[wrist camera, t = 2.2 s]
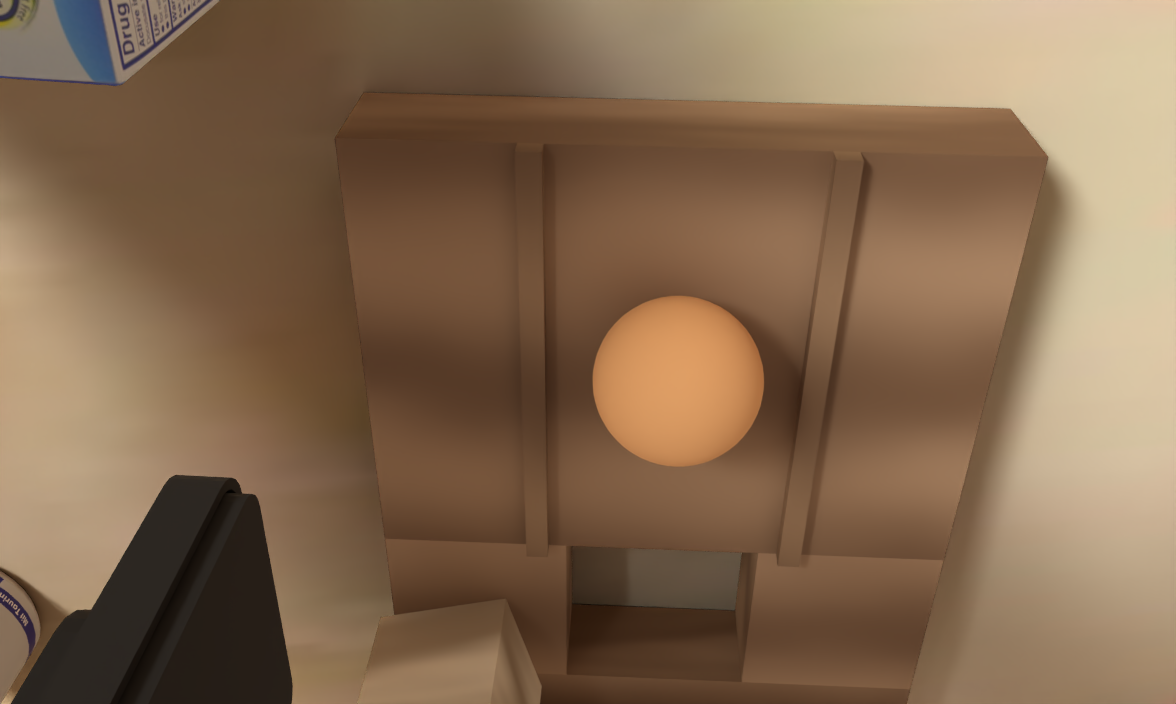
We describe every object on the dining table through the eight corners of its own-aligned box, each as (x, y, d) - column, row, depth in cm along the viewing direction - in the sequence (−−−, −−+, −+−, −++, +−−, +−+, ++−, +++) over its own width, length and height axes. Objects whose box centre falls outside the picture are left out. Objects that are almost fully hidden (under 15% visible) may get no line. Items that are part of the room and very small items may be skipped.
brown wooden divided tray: (363, 92, 27) (317, 164, 23) (1009, 108, 27) (1070, 185, 23) (422, 643, 38) (398, 753, 34) (881, 662, 37) (907, 776, 34)
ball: (597, 262, 26) (589, 353, 23) (763, 267, 26) (781, 359, 23) (594, 398, 28) (587, 499, 25) (748, 403, 28) (763, 505, 25)
